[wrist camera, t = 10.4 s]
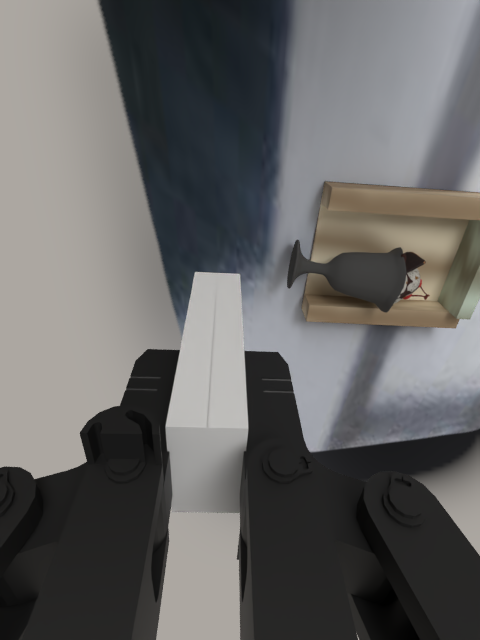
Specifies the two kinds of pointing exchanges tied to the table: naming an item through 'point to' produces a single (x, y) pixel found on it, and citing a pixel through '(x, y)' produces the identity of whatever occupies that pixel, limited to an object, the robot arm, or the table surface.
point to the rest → (412, 236)
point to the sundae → (365, 274)
